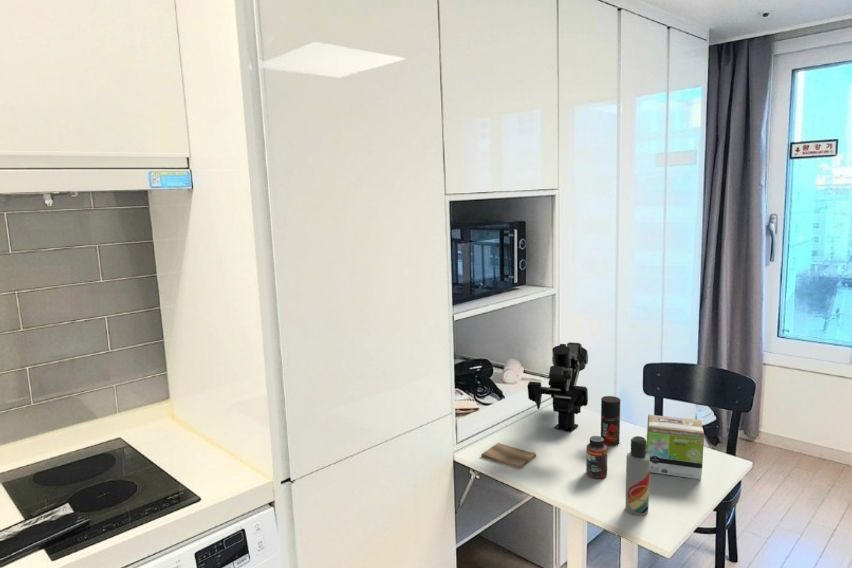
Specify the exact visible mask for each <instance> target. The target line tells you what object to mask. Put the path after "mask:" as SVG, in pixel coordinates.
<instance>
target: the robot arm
mask: <svg viewBox="0 0 852 568" xmlns="http://www.w3.org/2000/svg"><path fill="white" fill-rule="evenodd" d="M551 352H552V358H551V359H552V365H551V366H550V367H549V371H548V372H549V373H548V377H549V378H548V386H542V382H538V381H532V380H531V381H529V382H527V396H528V400H529V401H532V402H534V404H536V409H537V410H540V408H541V405H542V398H543V396H542V395H549V396H550V397H551V398H552V410H553V412H554V413H556V412H557V424H555V426H553V428H554V429H557V430H561V431H565V432H568V433H572V432H574V431H575V429H577V428H579V424H576V422H575V420H576V419H575V418H576V415H578V414H580V413H582V411H581V409H582V408H583V407H586V406H588V404H589V392H588V391H589V389H588V388H587V387H586V386H582V385H577V384H578V379H579V376H580V375H579V374H580V372H582V371H583V370H585V369H586V366H587V364H588V363H589V354H588V350H587V349H586V348H584V347H583V346H582V344H581V343H580V342H571V341H569V342H567V343H560V344H558V345H556V346H554V347H552V351H551ZM581 407H582V408H581Z"/></svg>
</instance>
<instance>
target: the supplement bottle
mask: <svg viewBox="0 0 852 568" xmlns="http://www.w3.org/2000/svg"><path fill="white" fill-rule="evenodd" d="M585 449H586V451H585V452H586V453H585V454H586V455H585V457H586V458H585V459H586V464H585V465H586V467H585V468H586V469H585V470H586V474H587V476H589V477H591V478H593V479H604V478H606V477H607V475H608V446H606V445H605V444H604V439H603V438H602V437H601V435H600V436H599V435H591V436H590V437H589V443H588V444H587V445H586V448H585Z"/></svg>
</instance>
